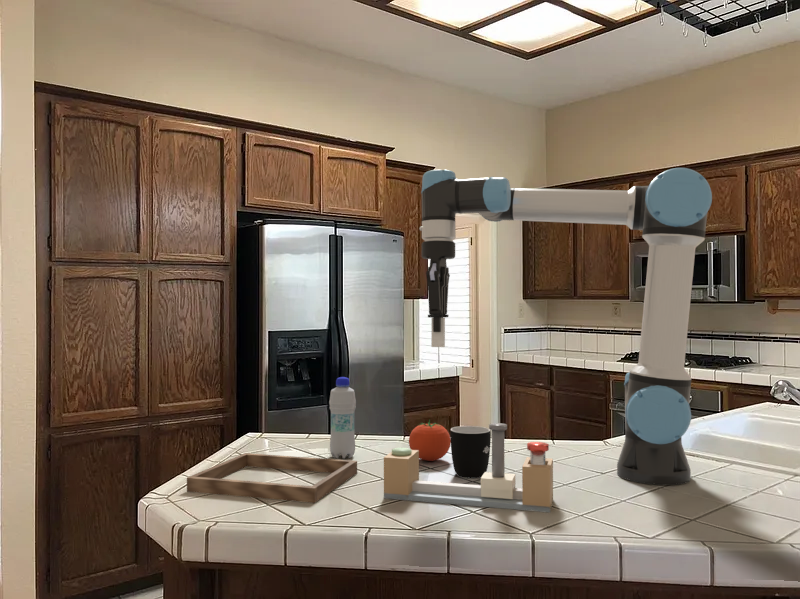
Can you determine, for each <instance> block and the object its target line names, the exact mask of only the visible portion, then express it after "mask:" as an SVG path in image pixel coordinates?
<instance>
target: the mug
mask: <svg viewBox="0 0 800 599" xmlns="http://www.w3.org/2000/svg"><path fill="white" fill-rule="evenodd" d="M449 435H450V440H451V443H450V453H451V459H452V465H453V469H454V472H455V474H456V476H458V477H459V478H464V479H479V478H480V479H481V477H482V475H483V474H484V473H485V472H488V467H489V461H490V452H491V442H492V430H490V429H489V427H484V426H477V425H461V426H460V425H459V426H454V427H451V428H450V431H449Z"/></svg>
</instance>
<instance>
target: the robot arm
mask: <svg viewBox="0 0 800 599" xmlns="http://www.w3.org/2000/svg"><path fill="white" fill-rule="evenodd" d="M421 181H422V184H421V191H420V192H421V193H420V194H421V226H419V231H421V239H422V240H423V241H422V243H421V258H422V259H424V260H429V266H428V267H427V271H426V273H425V275H426V281H427V296H428V297H427V298H428V314H427V318H431V348H445V346H446V345H445V344H446V318H449V314H447V313H448V298H449V283H450V276H451V274H450V270H449V269H450V268H449V267H448V266H447V260H453V259H455V258H456V242H454V241H455V239H456V235H457V234H456V233H457V232H456V227H457V226H456V224H457V223H456V215H457V214H460V215H461V214H479V215H480V216H481V217H483V219H485V220H487V221H489V222H501V221H521V222H525V221H527V222H544V223H545V222H546V223H547V222H550V223H571V224H572V223H574V224H595V225H596V224H598V225H622V226H623V225H625V226H626V227H627V228H629V229H630V230H633V231H635V230H636V231H642V234H641V237H642V239H644V241H645V242H646V243H647V245H648V257H647V266H646V277H645V278H646V279H645V290H644V299H643V309H642V310H643V311H642V321H641V330H640V342H639V351H638V352H639V353H638V354H639V355H638V363H637V364H635V365H634V366H633V367H632V368H631V369H630V370H629V372H627V373H626V374H625V376H624V383H623V387H624V422H625V423H624V430H625V431H624V442H623V446H622V448H621V451H620V454H619V457H618V459H617V464H616V466H617V467H616V468H617V469H616V474H617V475H618V477H620V478H623V479H625V480H627V481H631V482H635V483H641V484H647V485H655V486H658V485H659V486H673V485H674V486H675V485H681V484H686V483H688V482H690V481H691V477H692V476H691V475H692V474H691V467H690V464H689V461H688V458H687V456H686V455H687V454H686V453H685V450H684V446H683V442H682V437H683V436H684V435H685V433H686V432H688V430H689V427H690V425H691V421H692V412H691V411H692V410H691V407H690V398H691V397H690V396H691V386H692V377H691V375H690V374H689V373H688V372H687V371H686V369H685V362H686V351H687V350H686V349H687V343H688V342H687V341H688V330H689V329H688V328H689V320H690V318H689V317H690V309H691V298H692V297H691V296H692V288H693V277H694V266H695V256H696V255H695V254H696V248H697V247H698V246H699V245H700V244H702V243H703V242H704V241H705V239H706V229H707V219H708V211H709V210H710V209H711V206H712V203H713V194H712V189H711V187H710V186H711V185H710V184H709V181H707V179H706V178H705V177H704V175H702V174H701V173H699V172H698V171H696V170H694V169H691V168H687V167H675V168H670V169H667V170H664V171H663V172H661V173H659V174H658V175H656V176H655V177H654V178H653V180H651V181H650V183H649V185H642V186H641V185H634V186H632V187H631V188H630V189H629V190H619V189H616V190H614V189H575V188H574V189H572V188H570V189H569V188H567V189H566V188H526V187H525V188H522V187H521V188H520V187H519V188H516V187H515V188H514V187H513V188H512V187H511V184H510V180H509V179H508V178H506V177H502V176H501V177H498V176H497V177H496V176H490V177H479V178H478V177H477V178H465V179H464V178H463V179H458V178H457V177H456V173H455V172H454V171H452V170H449V169H431V170H428V171H426V172H424V174H422V180H421Z"/></svg>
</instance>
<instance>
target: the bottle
mask: <svg viewBox="0 0 800 599" xmlns="http://www.w3.org/2000/svg"><path fill="white" fill-rule="evenodd" d="M350 383H351V382H350V378H349V377H345V376H340V377H337V378H336V380H335V386H336V387H334V388H332V389H331V390H330V395H329V401H328V404H329V410H330V442H329V451H330V452H329V453H330V456H331V457H332V458H334V459H338V460H339V459H340V456H341V458H342V460H346V457H347V458H348V459H349V458H352V457H353V456H354V454H355V452H356V438H355V410H356V408H357V407H356V404H357V400H356V393H355V389H353V388H351V387H350Z"/></svg>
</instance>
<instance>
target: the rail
mask: <svg viewBox="0 0 800 599" xmlns="http://www.w3.org/2000/svg"><path fill="white" fill-rule="evenodd" d="M545 463H546V465H533V464H530V456H526V457H525V460H524V462H523V464H522V468H521V469H522V471H521V474H522V475H521V476H522V480H521V482H522V484H521V485H522V488H521V487H515V488H514V489H513V499H503V498H491V497H481V484H469V483H468V484H467V483H455V482H443V481H430V480H429V481H428V480H420V458H419V450H411V449H410V447H394V448H392V449H391V452H389V453H388V454H387V455H385V456H384V457H383V498H384V499H389V500H390V499H391V500H403V501H412V502H413V501H415V502H422V503H423V502H424V503H425V502H427V503H434V504H435V503H437V504H450V505H451V504H452V505H459V506H460V505H461V506H474V507H483V508H494V509H495V508H497V509H507V510H517V511H518V510H519V511H520V510H522V511H533V512H543V513H551V510H552V506H553V501H554V459H553V458H549V457H547V458H546V457H545Z"/></svg>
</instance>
